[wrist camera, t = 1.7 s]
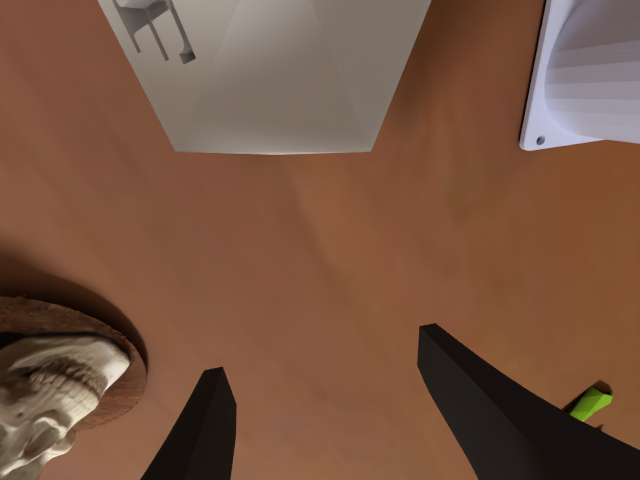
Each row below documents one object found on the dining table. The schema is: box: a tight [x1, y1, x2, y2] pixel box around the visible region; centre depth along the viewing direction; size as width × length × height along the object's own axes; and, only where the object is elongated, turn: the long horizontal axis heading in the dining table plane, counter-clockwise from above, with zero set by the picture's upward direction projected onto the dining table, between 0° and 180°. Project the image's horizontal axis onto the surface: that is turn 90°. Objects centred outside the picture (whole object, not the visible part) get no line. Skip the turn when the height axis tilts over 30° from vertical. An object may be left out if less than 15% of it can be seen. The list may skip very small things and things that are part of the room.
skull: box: [0, 295, 147, 480], centre depth 17 cm, size 12×10×10 cm
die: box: [98, 0, 431, 155], centre depth 9 cm, size 8×9×10 cm
